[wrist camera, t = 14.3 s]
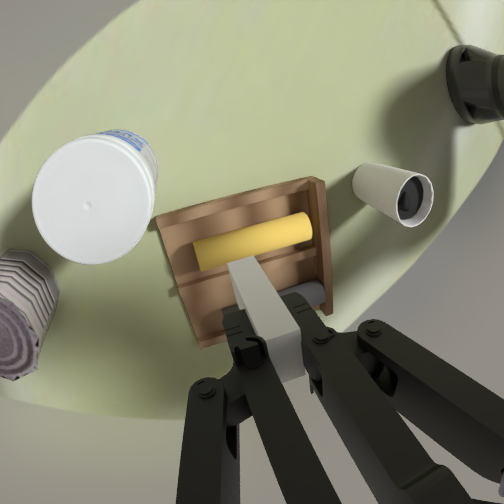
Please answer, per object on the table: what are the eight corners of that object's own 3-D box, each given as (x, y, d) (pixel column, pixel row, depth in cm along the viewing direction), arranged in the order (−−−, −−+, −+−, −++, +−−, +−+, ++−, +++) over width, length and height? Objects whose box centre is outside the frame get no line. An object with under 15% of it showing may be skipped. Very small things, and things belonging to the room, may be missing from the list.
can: (-22, 272, 30) (-60, 321, 20) (26, 231, 31) (-15, 276, 20) (25, 332, 36) (3, 390, 25) (76, 300, 36) (57, 361, 26)
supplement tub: (150, 120, 31) (143, 119, 18) (164, 200, 35) (169, 251, 22) (69, 142, 29) (15, 159, 16) (87, 219, 33) (52, 279, 20)
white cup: (373, 210, 44) (418, 234, 35) (341, 193, 41) (387, 215, 32) (392, 171, 42) (440, 188, 33) (361, 150, 39) (411, 163, 31)
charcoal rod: (313, 274, 45) (325, 286, 42) (315, 294, 46) (326, 307, 43) (219, 304, 42) (225, 319, 39) (225, 324, 44) (231, 339, 41)
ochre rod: (297, 219, 41) (303, 207, 38) (307, 243, 40) (314, 233, 37) (194, 248, 39) (191, 237, 35) (202, 275, 38) (199, 266, 34)
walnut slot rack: (311, 175, 39) (324, 181, 36) (322, 301, 48) (333, 313, 45) (155, 216, 35) (155, 225, 32) (198, 342, 44) (202, 357, 41)
